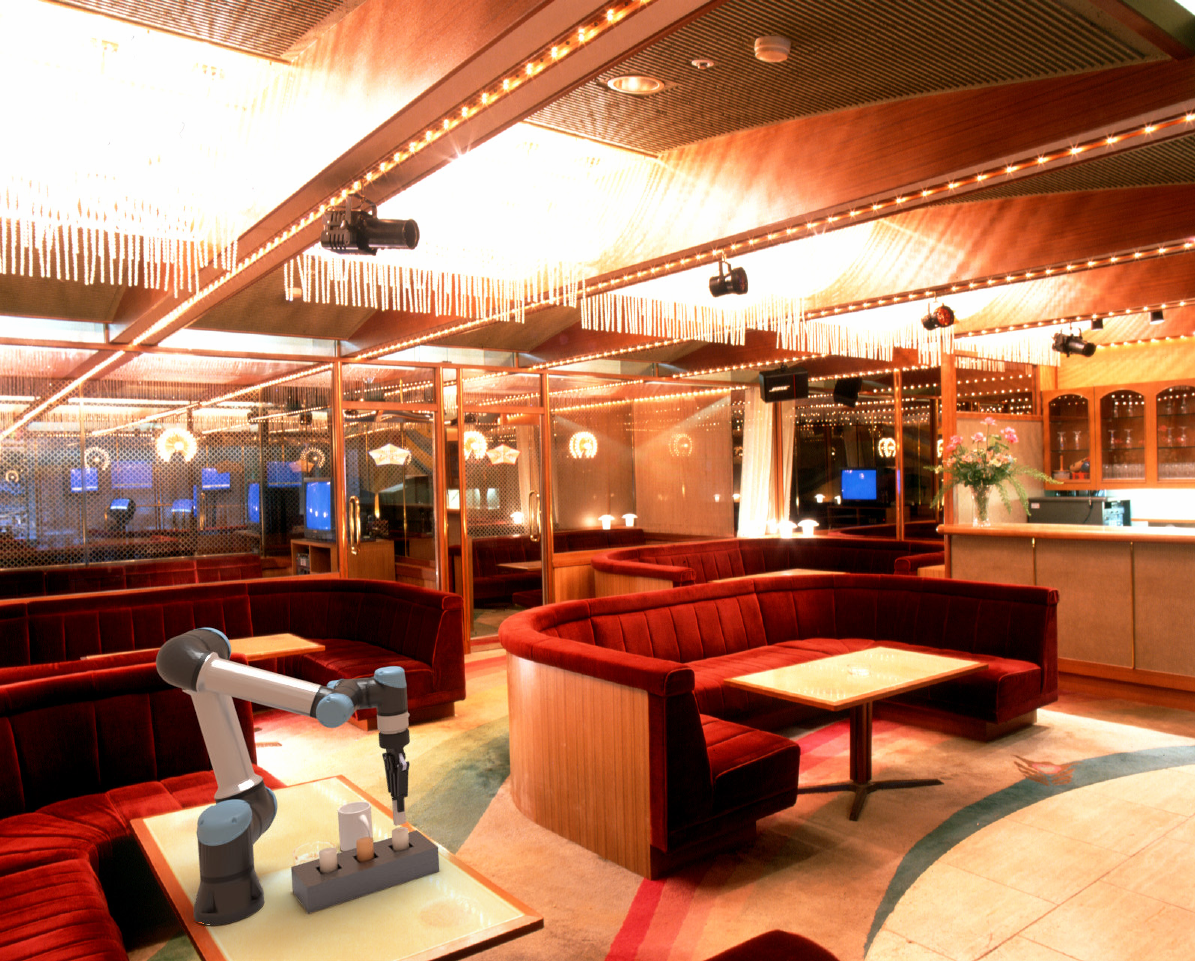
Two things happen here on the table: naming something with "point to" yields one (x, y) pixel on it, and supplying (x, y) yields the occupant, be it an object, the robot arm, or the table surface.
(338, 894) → the panel
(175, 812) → the table surface
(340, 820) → the mug
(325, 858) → the knob near
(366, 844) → the knob mid
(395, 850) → the cream rounded knob
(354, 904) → the table surface
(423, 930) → the table surface
